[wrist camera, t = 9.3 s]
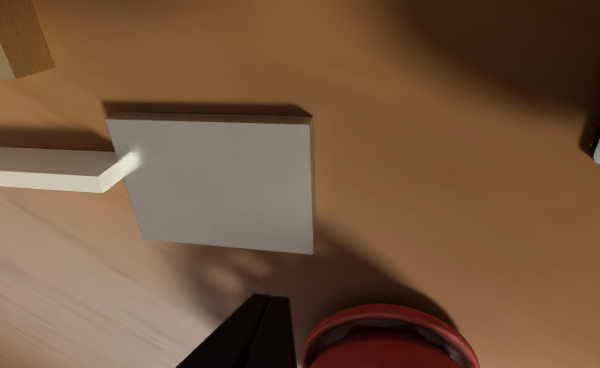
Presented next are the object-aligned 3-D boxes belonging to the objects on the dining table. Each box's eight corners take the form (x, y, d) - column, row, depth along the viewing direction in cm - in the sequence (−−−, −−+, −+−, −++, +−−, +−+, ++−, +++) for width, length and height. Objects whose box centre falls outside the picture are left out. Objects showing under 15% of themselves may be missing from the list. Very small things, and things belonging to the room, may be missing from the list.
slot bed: (298, -467, 10) (289, -516, 9) (316, 241, 23) (313, 254, 22) (-26, -381, 12) (-62, -413, 11) (152, 228, 25) (142, 239, 24)
